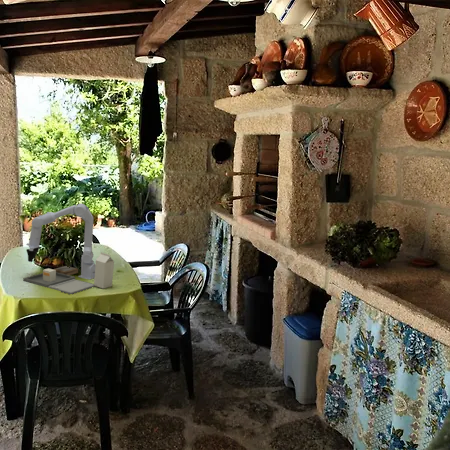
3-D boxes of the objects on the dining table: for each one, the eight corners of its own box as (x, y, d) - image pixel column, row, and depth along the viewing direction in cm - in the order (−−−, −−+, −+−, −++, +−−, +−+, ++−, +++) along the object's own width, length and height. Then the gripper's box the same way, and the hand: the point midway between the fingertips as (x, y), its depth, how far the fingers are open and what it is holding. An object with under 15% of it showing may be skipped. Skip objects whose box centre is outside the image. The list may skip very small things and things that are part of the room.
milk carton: (102, 288, 280) (105, 256, 277) (93, 285, 284) (96, 253, 280) (112, 286, 286) (114, 254, 283) (103, 283, 290) (105, 251, 286)
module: (55, 280, 291) (55, 270, 290) (50, 281, 287) (50, 271, 286) (48, 278, 294) (48, 268, 292) (42, 279, 290) (42, 269, 289)
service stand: (77, 273, 308) (77, 268, 307) (65, 277, 299) (65, 271, 299) (66, 270, 313) (66, 265, 312) (53, 274, 304) (53, 268, 304)
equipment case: (97, 285, 286) (97, 282, 285) (70, 294, 269) (70, 291, 268) (51, 274, 304) (51, 270, 304) (23, 281, 287) (23, 278, 286)
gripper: (30, 233, 298) (26, 255, 300) (25, 238, 284) (21, 261, 286) (42, 235, 299) (39, 257, 301) (38, 241, 285) (34, 263, 287)
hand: (31, 259), depth 294 cm, fingers open, 7 cm apart
